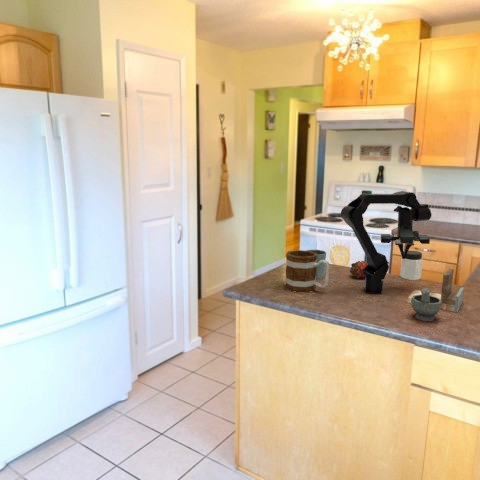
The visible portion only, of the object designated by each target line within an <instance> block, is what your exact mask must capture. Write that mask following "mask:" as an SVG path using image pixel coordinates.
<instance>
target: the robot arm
mask: <svg viewBox="0 0 480 480" xmlns="http://www.w3.org/2000/svg"><path fill="white" fill-rule="evenodd" d="M371 204H372V205H373V204H375V205H377V204H378V205H381V204H383V205H385V204H388V205H389V204H390V205H391V204H395V205H397V206H396V207H395V208H394V209H393V210H392V211H393V212H396V213H397V236H396V235H395V236H393V235H391V233H390V234H389V233H381V234H380V238H379V239H380V244H381V243H382V244H390V243H392V242H394V245H395V246H397V247H398V249H399V252H400V255H401V259H405V257H406V255H407V252H408V251H410V249H411V247H412V246H415V242H419V243H420V244H421V245H429V244H430V242H431V241H430V240H431V239H430V237H429V236H428V235H427V234H420V233H419V230H414V229H413V224H414V222H424V221H430V219H431V218H432V215H433V213H432V211H431V208H430V207H429V204H427V203H426V204H424V203H422V204H421V203H420V202H419V200H418V198H417V195H416V193H415V192H411V191H405V190H402V191H396V192H394V193H365V192H363V193H361V194H360V195H358V197H357V198H355V199H354V200H352V201H351V202H349V203H348V204H347V205H346V206H344V207H343V208H341V211H340V217H341V219H342V220H343V221H344V222H345V224H346V225H347V226H349V228H351V229H352V231H353V233H354V236H355V237H356V239H357V241H358V242H359V244H360V246H361V249H362V251H363V252H364V254H365V256H366V263H367V266H366V267H365V268H364V269H363V270H362V272H363V275H366V276H365V278H364V287H363V291H364V293H365V294H379V295H381V294H383V288H384V287H383V285H384V281H383V280H385V278H386V276H387V273H388V271H389V269H390V265H389V264H390V262H389V261H388V260H387V257H386V255H385V254H383V253H380V252H378V251H377V249H376V247H375V245H374V243H373V240H372V239H371V236H370V235H369V233H368V231H367V229H366V228H365V225H364V217H363V215H364V214H365V212H366V211H367V210H368V208H369V206H370V205H371ZM402 206H403V207H402ZM403 251H404V252H403Z"/></svg>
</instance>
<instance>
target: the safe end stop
mask: <svg viewBox="0 0 480 480" xmlns="http://www.w3.org/2000/svg"><path fill="white" fill-rule="evenodd" d="M464 291H465V287H464V286H463V287H460V289H459V290H458V292H456V293H457V295H456V299H455V308H454V311H453V312H454V313H458V311H459V310H460V308H461V306H462V304H463V299H464Z"/></svg>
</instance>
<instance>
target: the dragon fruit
mask: <svg viewBox="0 0 480 480" xmlns="http://www.w3.org/2000/svg"><path fill="white" fill-rule="evenodd" d="M350 266H351V267H350V270H349V272H350V274H351V275H352V276H355V278H357V279H361V278H364V279H365V276H366V275H363V272H362V270H363V269H364V268H365V267H366V266H367V262H366V261H365V260H361V261H360V260H358V261H356V262H355V263H351V264H350Z"/></svg>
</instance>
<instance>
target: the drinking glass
mask: <svg viewBox="0 0 480 480" xmlns="http://www.w3.org/2000/svg"><path fill="white" fill-rule="evenodd" d="M305 251H311V252H315V253H318V254H317V262H316V263H318V262H319V261H320V260H326V258H327V252H326V251H325V250H321V249H307V250H305ZM325 269H326V264H325V263H324V262H322V263H321V264H320V265H318V266H317V272H316V279H319V280H322V278H323V279H324V278H325Z"/></svg>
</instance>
